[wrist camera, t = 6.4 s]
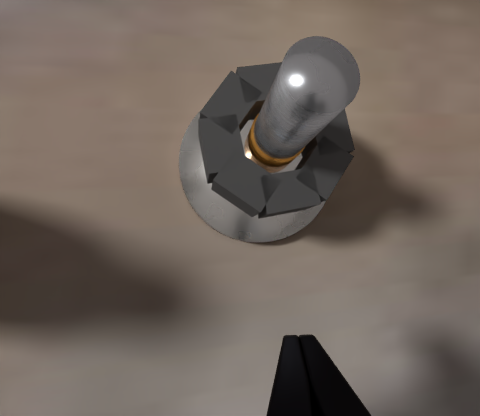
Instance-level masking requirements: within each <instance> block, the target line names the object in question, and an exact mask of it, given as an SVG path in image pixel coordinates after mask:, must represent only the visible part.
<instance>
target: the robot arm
mask: <svg viewBox="0 0 480 416" xmlns="http://www.w3.org/2000/svg"><path fill="white" fill-rule="evenodd" d="M267 416H371V414H370V413H369V412H368V410H367V409H366V407H365V406H364V405H363V403H362V402H361V400H360V399H359V398H358V396H357V395H356V393H355V392H354V391H353V389H352V388H351V386H350V385H349V384H348V382H347V381H346V379H345V378H344V377H343V375H342V374H341V372H340V371H339V370H338V368H337V367H336V365H335V364H334V363H333V361H332V360H331V358H330V357H329V356H328V354H327V353H326V351H325V350H324V349H323V347H322V346H321V344H320V343H319V342H318V340H317V339H316V338H315V336H313V335H300V336H299V337H298V336H297V335H285V336H284V337H283V341H282V346H281V351H280V355H279V360H278V365H277V369H276V374H275V379H274V383H273V388H272V393H271V397H270V402H269V406H268V411H267Z"/></svg>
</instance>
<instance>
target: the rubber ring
mask: <svg viewBox="0 0 480 416" xmlns="http://www.w3.org/2000/svg"><path fill="white" fill-rule="evenodd" d="M281 64H282V62H280V63H272V64H263V65H254V66H245V67H237V70H236V74H235V73H234V72H232V71H231V72H230V73H229V74H228V76H227V77H226V78H225V80H224V81H223V82H222V84H221V85H220V86H219V88H218V89H217V90H216V92H215V93H214V94H213V96H212V97H211V98H210V100H209V101H208V102H207V104H206V105H205V106H204V108H203V109H202V110H201V112H200V119H198V137H199V142H200V148H201V153H202V158H203V163H204V169H205V174H206V179H207V184H210V183H212V187H211V190H213V191H214V192H216V193H217V194H219V195H220V196H221V197H223V198H224V199H226V200H227V201H229V202H230V203H232V204H233V205H235V206H236V207H238V208H239V209H241V210H242V211H243V212H245V213H246V214H248V215H249V216H251V217H254V216H256V215H257V214H258V219H260V218H265V217H271V216H276V215H281V214H286V213H292V212H297V211H302V210H306V209H309V208H312V207H314V206H317V205H320V204H321V202H323V201H326V200H327V199H328V197H329V196H330V194H331V193H332V191H333V189H334V188H335V186H336V184H337V183H338V181H339V180H340V178H341V176H342V175H343V173H344V171H345V170H346V168H347V167H348V165H349V163H350V162H351V160H352V158H353V157H354V156H352V155H351V154H349V153H350V152H352V151H354V150H355V149H354V145H353V141H352V137H351V133H350V129H349V125H348V121H347V116H346V112H345V108H344V109H343V110H342V111H341V112H340V113H339V114H338V115H337V116H336V117H335V118H334V119H333V120H332V121H331V122H330V123H329V124H328V125H327V126H326V127H325V128H324V129H323V130H322V131H320V132H319V133H318V134H317V135H316V136H315V137H314V138H313V139H312V140H311V141H310V142H309V143H308V144H307V145H306V146H305V148H304V150H303V151H302V152H301V154H302V159H301V161H300V162H299V164H298V165H297V167H296V168H295V170H292V171H287V172H281V173H275V174H271V173H269V172H268V171H266V170H265V169H263V168H262V167H261V166H259V165H258V164H256V163H255V162H253V161H252V160H250V159H249V158H247V157H246V156H245V153H244V148H243V144H242V139H241V134H240V131H241V130H242V129H243V127H244V126H245V124H246V123H247V122H248V120H254V119H255V118H256V116H257V115H258V114H259V113H260V111H261V108H262V106H263V104H264V102H265V99H266V97H267V95H268V93H269V91H270V88H271V86H272V84H273V82H274V79H275V77H276V75H277V73H278V71H279V68H280V66H281Z"/></svg>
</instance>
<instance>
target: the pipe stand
mask: <svg viewBox="0 0 480 416" xmlns="http://www.w3.org/2000/svg"><path fill="white" fill-rule="evenodd" d="M359 85H360V73H359V68H358V65H357V63H356V61H355V59H354V57H353V55H352V54H351V53H350V52H349V51H348V50H347V49H346V48H345V47H344V46H343V45H342V44H340V43H338V42H337V41H335V40H333V39H330V38H326V37H320V36H313V37H307V38H304V39H302V40H300V41H298V42H296V43H295V44H294V45H293V46H291V48H290V49H289V50H288V52H287V53H286V55H285V57H284V59H283V62H282V64H281V66H280V68H279V71H278V73H277V75H276V77H275V79H274V82H273V84H272V86H271V88H270V91H269V93H268V95H267V97H266V99H265V102H264V104H263V106H262V108H261V111H260V113H259V114H258V115H257V116H256V118H255V119H254V120H248V122H247V123H246V124H245V126H244V127H243V129H242V130H241V131H240V134H241V139H242V144H243V148H244V153H245V156H246V157H247V158H249V159H250V160H252V161H253V162H255V163H256V164H258V165H259V166H261V167H262V168H263V169H265V170H266V171H268V172H269V173H271V174H275V173H281V172H287V171H292V170H295V168H296V167H297V165H298V164H299V162H300V161H301V159H302V154H301V152H302V151H303V150H304V148H305V146H306V145H307V144H308V143H309V142H310V141H311V140H312V139H313V138H314V137H315V136H316V135H317V134H318V133H319V132H320V131H322V130H323V129H324V128H325V127H326V126H327V125H328V124H329V123H330V122H331V121H332V120H333V119H334V118H335V117H336V116H337V115H338V114H339V113H340V112H341V111H342V110H343V109H344V108H345V107H346V106H347V105H349V104H350V103H351V102H352V100H353V99H354V98H355V96H356V94H357V92H358V89H359ZM200 112H201V111H200ZM200 112H199V113H198V114H197V115H196V116H195V117H194V119H193V120H192V122H191V123H190V125H189V126H188V128H187V130H186V132H185V135H184V137H183V140H182V144H181V148H180V154H179V171H180V178H181V182H182V186H183V190H184V192H185V195H186V197H187V199H188V201H189V203H190V205H191V206H192V208H193V209H194V211H195V212H196V213H197V215H198V216H199V217H200V218H201V219H202V220H203V221H204V222H205V223H206V224H207V225H209V226H210V227H211V228H213V229H214V230H216V231H217V232H219V233H221V234H223V235H225V236H227V237H230V238H232V239H236V240H240V241H245V242H269V241H276V240H279V239H283V238H286V237H288V236H290V235H293V234H295V233H296V232H298V231H300V230H301V229H303V228H304V227H305V226H307V225H308V224H309V223H310V222H311V221H312V220H313V219H314V218H315V217H316V216H317V215H318V213H319V212H320V210H321V209H322V207H323V206H324V204H325V202H326V201H323V202H321V204H320V205H317V206H314V207H312V208H309V209H306V210H302V211H297V212H292V213H286V214H281V215H276V216H271V217H265V218H260V219H258V214H257V215H256V216H254V217H251V216H249V215H248V214H246V213H245V212H243V211H242V210H241V209H239V208H238V207H236V206H235V205H233V204H232V203H230V202H229V201H227V200H226V199H224V198H223V197H221V196H220V195H219V194H217V193H216V192H214V191H213V190H211V187H212V183H210V184H207V179H206V174H205V169H204V163H203V158H202V153H201V148H200V142H199V137H198V119H200Z"/></svg>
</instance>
